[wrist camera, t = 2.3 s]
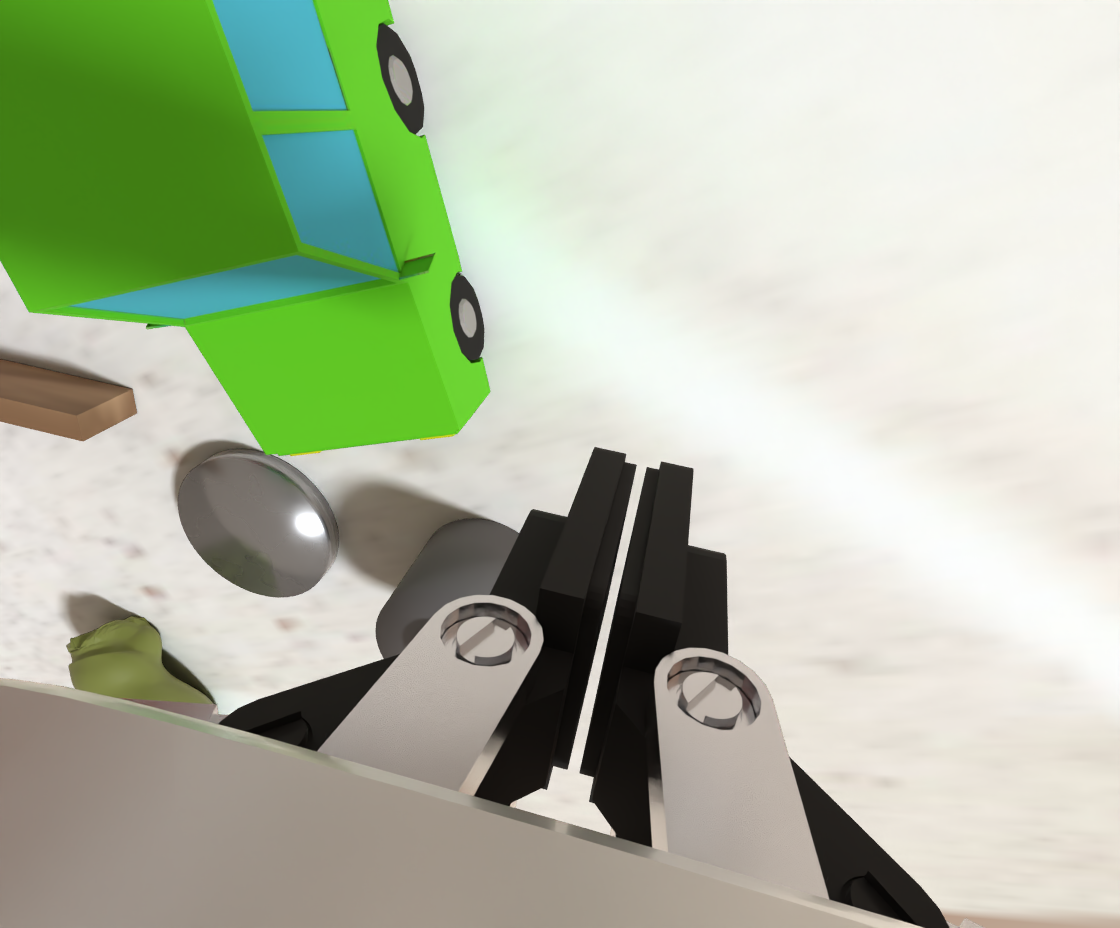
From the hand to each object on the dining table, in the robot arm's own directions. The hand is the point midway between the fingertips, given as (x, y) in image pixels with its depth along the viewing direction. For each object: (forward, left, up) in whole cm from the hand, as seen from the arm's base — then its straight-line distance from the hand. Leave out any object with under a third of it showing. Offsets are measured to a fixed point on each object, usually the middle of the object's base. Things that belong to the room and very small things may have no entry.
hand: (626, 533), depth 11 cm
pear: (+26, -24, -14) cm, 39 cm away
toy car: (-1, -12, -14) cm, 19 cm away
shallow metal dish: (+13, -17, -14) cm, 26 cm away
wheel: (+13, -6, -14) cm, 20 cm away
